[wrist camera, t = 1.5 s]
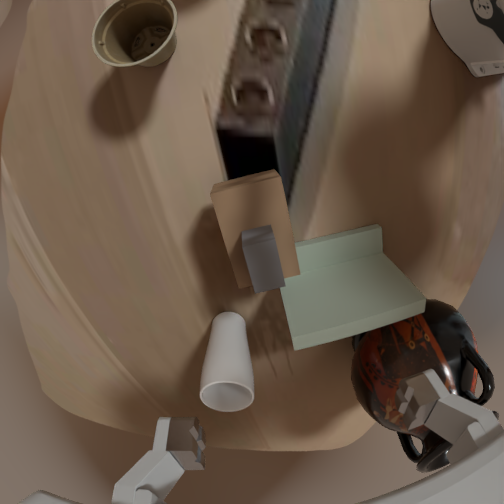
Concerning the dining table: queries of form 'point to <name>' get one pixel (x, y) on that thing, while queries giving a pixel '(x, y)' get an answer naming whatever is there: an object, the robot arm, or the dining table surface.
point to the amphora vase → (415, 361)
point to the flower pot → (135, 33)
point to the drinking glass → (227, 366)
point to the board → (346, 288)
